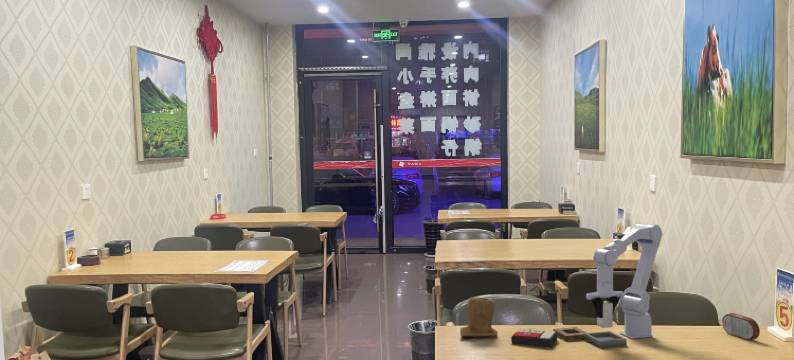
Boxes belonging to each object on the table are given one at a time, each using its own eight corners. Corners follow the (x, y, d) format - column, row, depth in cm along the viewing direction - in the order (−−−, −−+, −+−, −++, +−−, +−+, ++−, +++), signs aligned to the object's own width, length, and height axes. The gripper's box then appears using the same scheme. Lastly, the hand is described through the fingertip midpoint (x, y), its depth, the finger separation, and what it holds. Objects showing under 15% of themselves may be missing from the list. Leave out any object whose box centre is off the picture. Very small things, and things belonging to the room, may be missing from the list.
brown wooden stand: (493, 330, 255) (493, 293, 254) (499, 339, 243) (499, 300, 242) (456, 331, 254) (456, 294, 254) (460, 340, 243) (460, 301, 242)
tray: (609, 337, 243) (609, 331, 243) (626, 345, 232) (626, 338, 232) (584, 339, 240) (584, 333, 240) (600, 348, 230) (600, 341, 230)
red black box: (518, 327, 247) (556, 329, 240) (519, 338, 247) (557, 341, 240) (510, 334, 237) (550, 337, 230) (511, 346, 237) (551, 349, 231)
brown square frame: (575, 331, 251) (575, 326, 251) (589, 338, 242) (589, 333, 241) (553, 333, 249) (553, 328, 249) (565, 341, 239) (565, 335, 239)
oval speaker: (760, 342, 235) (760, 319, 234) (754, 343, 234) (754, 320, 233) (726, 331, 249) (726, 310, 249) (720, 332, 248) (720, 311, 247)
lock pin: (606, 324, 239) (606, 300, 238) (612, 327, 235) (612, 303, 234) (597, 325, 238) (597, 301, 237) (603, 327, 234) (603, 303, 234)
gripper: (615, 278, 241) (616, 313, 242) (581, 280, 238) (582, 315, 238) (626, 281, 234) (626, 317, 235) (591, 283, 231) (592, 320, 231)
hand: (605, 317), depth 236 cm, fingers closed on lock pin, 4 cm apart
